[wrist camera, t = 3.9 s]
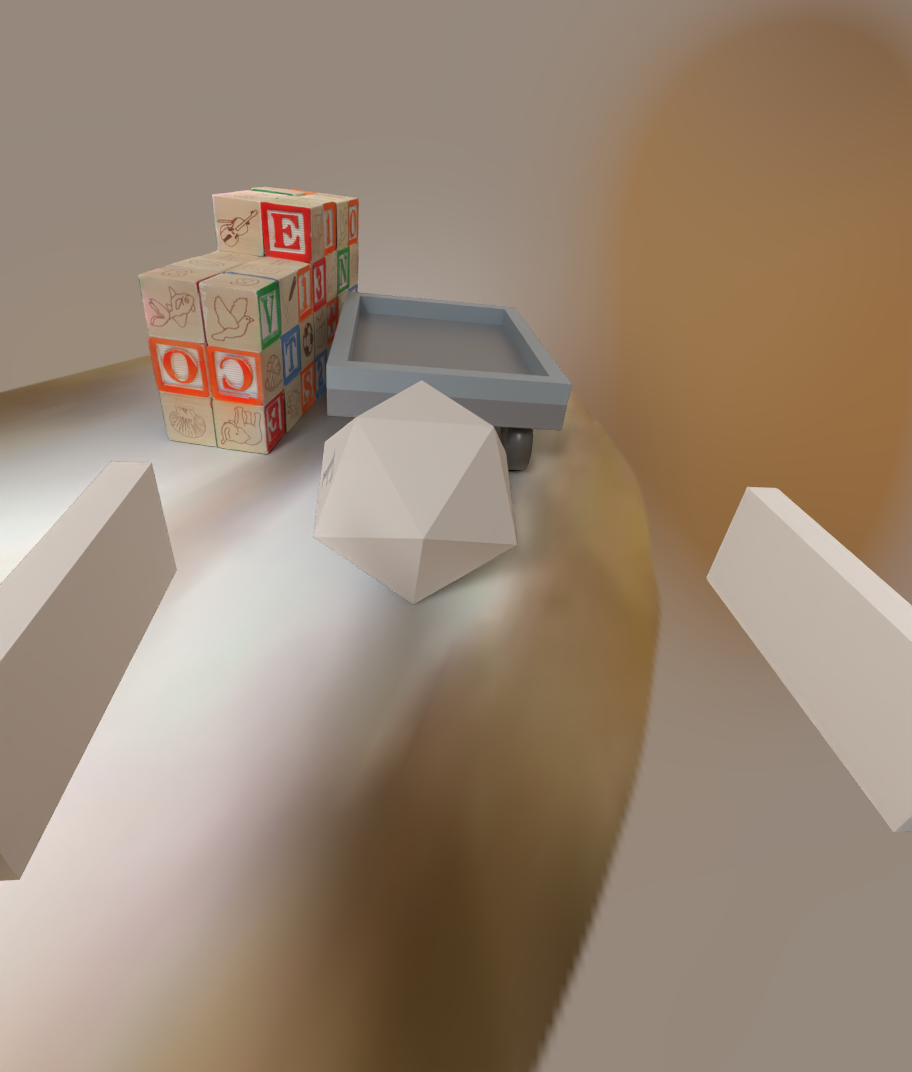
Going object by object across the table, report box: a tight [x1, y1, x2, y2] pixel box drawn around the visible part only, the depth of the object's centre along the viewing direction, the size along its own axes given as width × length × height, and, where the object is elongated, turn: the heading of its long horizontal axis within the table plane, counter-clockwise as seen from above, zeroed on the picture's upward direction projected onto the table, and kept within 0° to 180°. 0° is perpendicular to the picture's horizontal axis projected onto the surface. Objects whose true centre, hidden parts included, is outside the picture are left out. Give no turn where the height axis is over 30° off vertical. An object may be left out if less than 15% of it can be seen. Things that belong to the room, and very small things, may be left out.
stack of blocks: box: [138, 187, 359, 454], centre depth 38 cm, size 21×6×12 cm, turn 174°
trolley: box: [326, 291, 572, 470], centre depth 38 cm, size 13×17×6 cm
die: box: [313, 380, 517, 605], centre depth 24 cm, size 8×9×10 cm
